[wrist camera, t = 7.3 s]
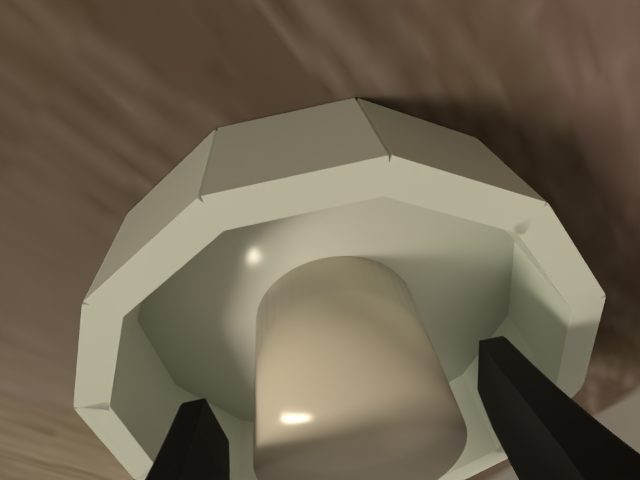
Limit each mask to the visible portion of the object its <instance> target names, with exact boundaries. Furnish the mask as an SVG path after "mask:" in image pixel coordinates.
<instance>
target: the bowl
mask: <svg viewBox="0 0 640 480" xmlns="http://www.w3.org/2000/svg"><path fill="white" fill-rule="evenodd" d="M334 256H353V257H361V258H366V259H370V260H373V261H376V262H379V263H381V264H383V265H385V266H387V267H389V268H390V269H392V270H393V271H395V272H396V273H397V274H398V275H399V276H400V277H401V278H402V279H403V280H404V282H405V283H406V285H407V286H408V288H409V290H410V292H411V295H412V297H413V299H414V302H415V304H416V307H417V309H418V311H419V314H420V316H421V318H422V321H423V323H424V326H425V328H426V330H427V333H428V335H429V338H430V340H431V342H432V345H433V347H434V349H435V352H436V354H437V357H438V359H439V361H440V364H441V366H442V368H443V371H444V373H445V376H446V378H447V380H448V383H449V385H450V387H451V390H452V392H453V395H454V397H455V399H456V402H457V404H458V406H459V409H460V411H461V414H462V416H463V418H464V421H465V424H466V427H467V442H466V446H465V448H464V451H463V453H462V455H461V456H460V458H459V459H458V461H457V462H456V463H455V464H454V466H453V467H452V468H451V469H450V470H449V471H448V472H447V473H446V474H444V475H443V476H442V477H440V478H439V479H438V480H465V479H467V478H469V477H471V476H473V475H475V474H477V473H479V472H481V471H483V470H485V469H487V468H489V467H491V466H493V465H495V464H497V463H499V462H502V461H504V460H506V459H508V457H507V455H506V454H505V452H504V450H503V448H502V446H501V444H500V442H499V440H498V438H497V436H496V434H495V432H494V430H493V428H492V426H491V423H490V421H489V418H488V416H487V413H486V411H485V408H484V406H483V403H482V401H481V398H480V395H479V393H478V390H477V384H478V356H479V341H480V340H485V339H489V338H494V337H499V336H504V337H506V338H507V339H508V340H509V341H510V342H511V343H512V344H513V345H514V346H515V347H516V348H517V349H518V350H519V351H520V352H521V353H522V354H523V355H524V356H525V357H526V358H527V359H528V360H529V361H530V362H531V363H532V364H533V365H534V366H535V367H537V368H538V369H539V370H540V371H541V372H542V373H543V374H544V375H545V376H546V377H547V378H548V379H549V380H551V381H552V382H553V383H554V384H555V385H556V386H557V387H558V388H559V389H561V390H562V391H563V392H564V393H565V394H566V395H567V396H569V397H570V398H572V397H573V396H574V395H575V394H576V393H577V392H578V391H579V390H580V389H581V388H582V387H581V386H583V384H584V380H585V376H586V372H587V368H588V365H589V361H590V357H591V353H592V349H593V345H594V341H595V337H596V334H597V330H598V326H599V322H600V318H601V314H602V310H603V307H604V303H605V299H606V297H605V293H604V291H603V290H602V288H601V287H600V285H599V283H598V282H597V280H596V279H595V277H594V275H593V274H592V272H591V271H590V269H589V267H588V266H587V264H586V263H585V261H584V259H583V258H582V256H581V255H580V253H579V251H578V250H577V248H576V247H575V245H574V243H573V242H572V240H571V239H570V237H569V235H568V234H567V232H566V231H565V229H564V227H563V226H562V224H561V223H560V221H559V219H558V218H557V216H556V215H555V213H554V211H553V210H552V208H551V207H550V205H549V204H548V203H547V202H546V201H545V200H544V199H543V198H542V197H541V196H540V195H538V194H537V193H536V192H535V191H534V190H533V189H532V188H531V187H530V186H529V185H528V184H526V183H525V182H524V181H523V180H522V179H521V178H520V177H519V176H518V175H517V174H515V173H514V172H513V171H512V170H511V169H510V168H509V167H508V166H507V165H506V164H504V163H503V162H502V161H501V160H500V159H499V158H498V157H497V156H496V155H495V154H494V153H492V152H491V151H490V150H489V149H488V148H487V147H486V146H485V145H484V144H483V143H481V142H480V141H479V140H478V139H477V138H475V137H472V136H469V135H466V134H464V133H461V132H458V131H455V130H452V129H449V128H446V127H443V126H440V125H437V124H434V123H431V122H428V121H425V120H422V119H419V118H416V117H413V116H410V115H407V114H404V113H401V112H398V111H395V110H392V109H389V108H386V107H383V106H380V105H377V104H374V103H371V102H368V101H365V100H362V99H359V98H358V99H357V101H356V100H355V98H351V99H347V100H342V101H338V102H333V103H329V104H324V105H319V106H315V107H310V108H306V109H301V110H297V111H292V112H288V113H283V114H278V115H274V116H269V117H265V118H260V119H256V120H251V121H247V122H242V123H237V124H233V125H228V126H224V127H219V128H218V129H217V131H216V130H214V131H213V132H212V133H211V134H210V135H209V136H208V137H206V138H205V139H204V140H203V141H202V142H201V143H200V144H199V145H198V146H197V147H196V148H195V149H194V150H193V151H192V152H191V153H190V154H189V155H188V156H187V157H186V158H185V159H184V160H183V161H182V162H180V163H179V164H178V165H177V166H176V167H175V168H174V169H173V170H172V171H171V172H170V173H169V174H168V175H167V176H166V177H165V178H164V179H163V180H162V181H161V182H160V183H159V184H158V185H157V186H156V187H155V188H153V189H152V190H151V191H150V192H149V193H148V194H147V195H146V196H145V197H144V198H143V199H142V200H141V201H140V202H139V203H138V204H137V205H136V206H135V207H134V208H133V209H132V210H131V211H130V212H129V213H128V214H127V216H126V218H125V220H124V222H123V224H122V226H121V228H120V230H119V232H118V234H117V236H116V238H115V240H114V242H113V244H112V246H111V248H110V249H109V251H108V253H107V255H106V257H105V259H104V261H103V263H102V265H101V267H100V269H99V271H98V273H97V275H96V277H95V279H94V281H93V283H92V285H91V287H90V289H89V291H88V293H87V295H86V297H85V299H84V301H83V303H82V310H81V322H80V334H79V347H78V359H77V371H76V383H75V395H74V407H75V408H74V409H75V410H76V412H77V413H78V414H79V415H80V416H81V417H82V419H83V420H84V421H85V422H86V423H87V424H88V426H89V427H90V428H91V429H92V430H93V431H94V433H95V434H96V435H97V436H98V437H99V438H100V440H101V441H102V442H103V443H104V444H105V445H106V447H107V448H108V449H109V450H110V451H111V452H112V454H113V455H114V456H115V457H116V458H117V459H118V461H119V462H120V463H121V464H122V465H123V466H124V468H125V469H126V470H127V471H128V472H129V474H130V475H131V476H132V477H133V478H136V480H145V478H146V477H147V475H148V473H149V471H150V469H151V467H152V465H153V463H154V461H155V459H156V456H157V454H158V452H159V450H160V448H161V446H162V444H163V442H164V440H165V438H166V435H167V433H168V431H169V429H170V427H171V425H172V422H173V420H174V418H175V416H176V414H177V411H178V409H179V407H180V405H181V404H182V403H184V402H189V401H194V400H199V399H203V398H205V399H206V400H207V402H208V404H209V406H210V408H211V409H212V411H213V413H214V415H215V417H216V418H217V420H218V422H219V424H220V426H221V428H222V429H223V431H224V433H225V435H226V437H227V438H228V440H229V457H230V480H258V479H257V478H256V475H255V472H254V468H253V434H254V387H255V341H256V315H257V310H258V307H259V304H260V302H261V300H262V298H263V296H264V294H265V293H266V292H267V290H268V289H269V288H270V287H271V286H272V284H273V283H274V282H275V281H277V280H278V279H279V278H280V277H281V276H283V275H284V274H286V273H287V272H289V271H290V270H292V269H294V268H296V267H298V266H300V265H302V264H305V263H308V262H310V261H313V260H317V259H321V258H327V257H334Z"/></svg>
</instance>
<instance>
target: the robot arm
mask: <svg viewBox="0 0 640 480" xmlns="http://www.w3.org/2000/svg"><path fill="white" fill-rule="evenodd" d="M477 390H478V393H479V395H480V398H481V401H482V403H483V406H484V408H485V411H486V413H487V416H488V418H489V421H490V423H491V426H492V428H493V430H494V432H495V434H496V436H497V438H498V440H499V442H500V444H501V446H502V448H503V450H504V452H505V454H506V455H507V457H508V459H509V461H510V463H511V465H512V467H513V469H514V471H515V473H516V475H517V476H518V478H519V480H640V454H639V453H638V452H636V451H635V450H634V449H632V448H631V447H630V446H628V445H627V444H626V443H625V442H623V441H622V440H621V439H619V438H618V437H617V436H616V435H614V434H613V433H612V432H611V431H609V430H608V429H607V428H606V427H604V426H603V425H602V424H601V423H599V422H598V421H597V420H596V419H594V418H593V417H592V416H591V415H590V414H588V413H587V412H586V411H585V410H584V409H582V408H581V407H580V406H579V405H578V404H577V403H576V402H574V401H573V400H572V399H571V398H570V397H569V396H567V395H566V394H565V393H564V392H563V391H562V390H561V389H559V388H558V387H557V386H556V385H555V384H554V383H553V382H552V381H551V380H549V379H548V378H547V377H546V376H545V375H544V374H543V373H542V372H541V371H540V370H539V369H538V368H537V367H535V366H534V365H533V364H532V363H531V362H530V361H529V360H528V359H527V358H526V357H525V356H524V355H523V354H522V353H521V352H520V351H519V350H518V349H517V348H516V347H515V346H514V345H513V344H512V343H511V342H510V341H509V340H508V339H507V338H506V337H504V336H499V337H494V338H489V339H485V340H480V341H479V356H478V384H477ZM145 480H230V457H229V440H228V438H227V437H226V435H225V433H224V431H223V429H222V428H221V426H220V424H219V422H218V420H217V418H216V417H215V415H214V413H213V411H212V409H211V408H210V406H209V404H208V402H207V400H206V399H205V398H203V399H199V400H194V401H189V402H184V403H182V404H181V405H180V407H179V409H178V411H177V414H176V416H175V418H174V420H173V422H172V425H171V427H170V429H169V431H168V433H167V435H166V438H165V440H164V442H163V444H162V446H161V448H160V450H159V452H158V454H157V456H156V459H155V461H154V463H153V465H152V467H151V469H150V471H149V473H148V475H147V477H146V478H145Z"/></svg>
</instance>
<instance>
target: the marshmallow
mask: <svg viewBox="0 0 640 480" xmlns="http://www.w3.org/2000/svg"><path fill="white" fill-rule="evenodd" d="M466 442H467V427H466V424H465V421H464V418H463V416H462V414H461V411H460V409H459V406H458V404H457V402H456V399H455V397H454V395H453V392H452V390H451V387H450V385H449V383H448V380H447V378H446V376H445V373H444V371H443V368H442V366H441V364H440V361H439V359H438V357H437V354H436V352H435V349H434V347H433V345H432V342H431V340H430V338H429V335H428V333H427V330H426V328H425V326H424V323H423V321H422V318H421V316H420V314H419V311H418V309H417V307H416V304H415V302H414V299H413V297H412V295H411V292H410V290H409V288H408V286H407V285H406V283H405V282H404V280H403V279H402V278H401V277H400V276H399V275H398V274H397V273H396V272H395V271H393V270H392V269H390V268H389V267H387V266H385V265H383V264H381V263H379V262H376V261H373V260H370V259H366V258H361V257H353V256H334V257H327V258H321V259H317V260H313V261H310V262H308V263H305V264H302V265H300V266H298V267H296V268H294V269H292V270H290V271H289V272H287V273H286V274H284V275H283V276H281V277H280V278H279V279H278V280H277V281H275V282H274V283H273V284H272V286H271V287H270V288H269V289H268V290H267V292H266V293H265V294H264V296H263V298H262V300H261V302H260V304H259V307H258V310H257V315H256V341H255V387H254V434H253V468H254V472H255V475H256V478H257V479H258V480H438V479H439V478H440V477H442V476H443V475H444V474H446V473H447V472H448V471H449V470H450V469H451V468H452V467H453V466H454V464H455V463H456V462H457V461H458V459H459V458H460V456H461V455H462V453H463V451H464V448H465V446H466Z"/></svg>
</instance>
